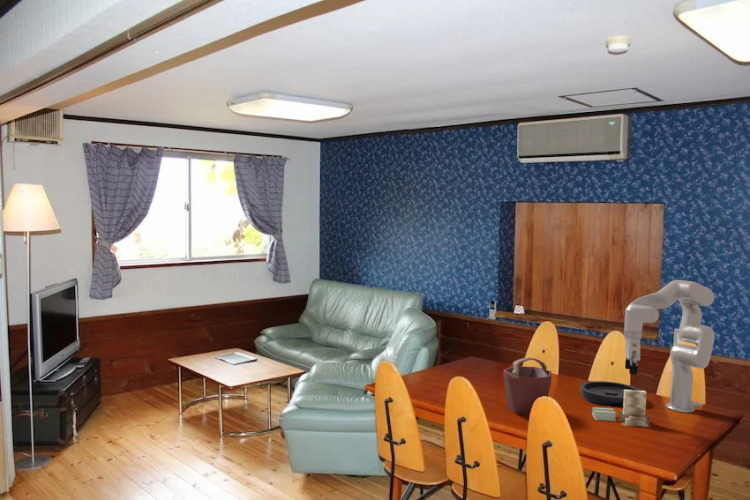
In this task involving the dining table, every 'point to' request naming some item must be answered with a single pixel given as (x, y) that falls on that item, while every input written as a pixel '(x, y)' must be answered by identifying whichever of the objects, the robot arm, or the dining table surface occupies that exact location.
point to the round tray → (605, 392)
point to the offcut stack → (636, 421)
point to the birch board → (634, 402)
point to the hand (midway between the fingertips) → (630, 371)
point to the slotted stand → (604, 414)
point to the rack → (623, 416)
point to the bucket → (525, 385)
